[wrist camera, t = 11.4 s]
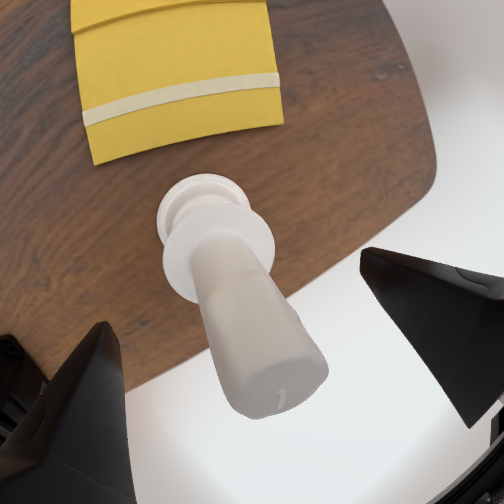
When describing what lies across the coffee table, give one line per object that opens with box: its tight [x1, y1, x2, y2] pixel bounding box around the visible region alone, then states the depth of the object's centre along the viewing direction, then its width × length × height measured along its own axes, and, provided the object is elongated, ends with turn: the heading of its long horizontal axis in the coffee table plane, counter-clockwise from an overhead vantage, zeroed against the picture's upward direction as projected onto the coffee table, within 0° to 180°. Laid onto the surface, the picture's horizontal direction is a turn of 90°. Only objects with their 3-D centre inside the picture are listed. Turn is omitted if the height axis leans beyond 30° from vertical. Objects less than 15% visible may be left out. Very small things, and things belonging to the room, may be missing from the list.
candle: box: [157, 174, 329, 419], centre depth 10 cm, size 5×5×12 cm
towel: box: [71, 0, 284, 166], centre depth 10 cm, size 10×12×1 cm
